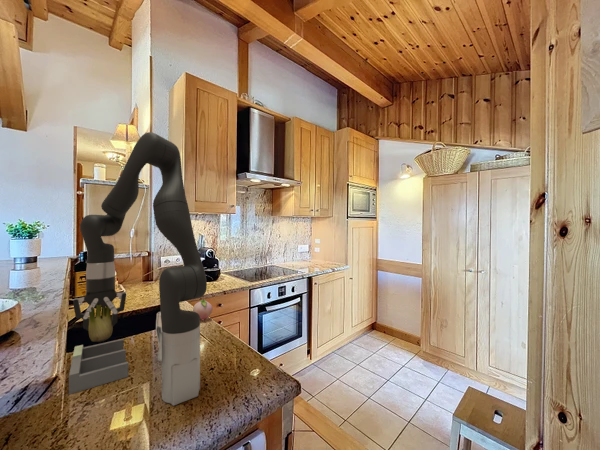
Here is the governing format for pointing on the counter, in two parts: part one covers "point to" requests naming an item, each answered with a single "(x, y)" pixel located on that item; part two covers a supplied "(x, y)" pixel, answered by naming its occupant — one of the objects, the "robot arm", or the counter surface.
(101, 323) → the fennel bulb
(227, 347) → the counter surface
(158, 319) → the beer glass
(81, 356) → the comb rack
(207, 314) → the decorative fruit
